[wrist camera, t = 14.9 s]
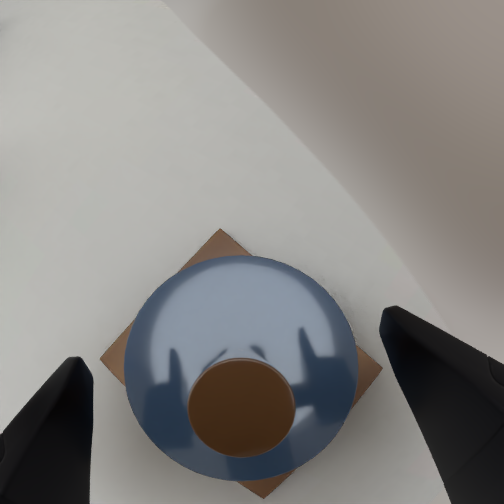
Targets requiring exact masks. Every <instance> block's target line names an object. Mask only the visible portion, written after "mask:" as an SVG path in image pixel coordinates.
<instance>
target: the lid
mask: <svg viewBox="0 0 504 504" xmlns="http://www.w3.org/2000/svg"><path fill="white" fill-rule="evenodd" d="M124 379H125V386H126V391H127V396H128V399H129V402H130V405H131V408H132V410H133V413H134V415H135V416H136V418H137V420H138V422H139V424H140V426H141V427H142V429H143V430H144V431H145V433H146V434H147V436H148V437H149V438H150V439H151V440H152V442H153V443H154V444H155V445H156V446H157V447H158V448H159V449H160V450H161V451H163V452H164V453H165V454H166V455H167V456H169V457H170V458H171V459H173V460H174V461H176V462H177V463H179V464H181V465H182V466H184V467H186V468H188V469H190V470H192V471H194V472H197V473H199V474H202V475H205V476H209V477H212V478H217V479H222V480H229V481H254V480H262V479H267V478H272V477H275V476H278V475H281V474H284V473H287V472H289V471H291V470H293V469H295V468H297V467H300V466H301V465H303V464H304V463H306V462H308V461H309V460H311V459H312V458H314V457H315V456H316V455H317V454H318V453H319V452H321V451H322V450H323V449H324V448H325V447H326V446H327V445H328V444H329V443H330V442H331V441H332V439H333V438H334V437H335V436H336V434H337V433H338V431H339V430H340V429H341V427H342V426H343V424H344V422H345V420H346V418H347V416H348V414H349V412H350V409H351V407H352V404H353V401H354V398H355V393H356V388H357V383H358V355H357V349H356V344H355V340H354V337H353V334H352V331H351V328H350V325H349V323H348V321H347V320H346V318H345V316H344V314H343V312H342V310H341V309H340V307H339V306H338V305H337V303H336V302H335V300H334V299H333V298H332V297H331V296H330V295H329V294H328V292H327V291H326V290H325V289H324V288H323V287H321V286H320V285H319V284H318V283H317V282H316V281H314V280H313V279H312V278H310V277H309V276H307V275H306V274H304V273H303V272H301V271H299V270H297V269H295V268H293V267H291V266H289V265H287V264H284V263H281V262H278V261H275V260H272V259H268V258H263V257H258V256H245V255H235V256H223V257H218V258H213V259H209V260H205V261H202V262H199V263H196V264H194V265H192V266H190V267H188V268H186V269H183V270H181V271H180V272H178V273H177V274H175V275H174V276H172V277H171V278H169V279H168V280H167V281H165V282H164V283H163V284H162V285H161V286H160V287H158V288H157V289H156V290H155V292H154V293H153V294H152V295H151V296H150V297H149V298H148V299H147V301H146V302H145V304H144V305H143V307H142V308H141V309H140V311H139V313H138V315H137V317H136V319H135V321H134V323H133V325H132V327H131V330H130V333H129V336H128V339H127V344H126V349H125V354H124Z"/></svg>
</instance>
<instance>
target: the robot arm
mask: <svg viewBox="0 0 504 504" xmlns="http://www.w3.org/2000/svg"><path fill="white" fill-rule="evenodd" d="M379 333H380V337H381V339H382V342H383V345H384V347H385V350H386V353H387V355H388V358H389V361H390V363H391V366H392V369H393V372H394V374H395V377H396V379H397V381H398V383H399V385H400V387H401V389H402V391H403V393H404V395H405V398H406V400H407V402H408V404H409V406H410V408H411V410H412V412H413V414H414V417H415V419H416V421H417V423H418V425H419V427H420V430H421V432H422V434H423V436H424V439H425V441H426V443H427V445H428V448H429V450H430V452H431V455H432V457H433V459H434V462H435V464H436V466H437V469H438V471H439V473H440V476H441V478H442V481H443V483H444V486H445V489H446V491H447V493H448V496H449V499H450V501H451V504H504V364H502V363H500V362H498V361H497V360H495V359H493V358H491V357H490V356H488V357H487V355H486V354H484V353H482V352H480V351H479V350H477V349H475V348H473V347H472V346H470V345H468V344H466V343H464V342H463V341H460V340H459V339H457V338H455V337H454V336H452V335H450V334H448V333H446V332H445V331H443V330H441V329H439V328H437V327H436V326H434V325H432V324H430V323H428V322H426V321H425V320H423V319H421V318H419V317H417V316H415V315H414V314H412V313H410V312H408V311H406V310H404V309H403V308H401V307H399V306H391V307H387V308H385V309H384V310H383V313H382V317H381V322H380V327H379ZM92 434H93V376H92V374H91V372H90V370H89V369H88V367H87V366H86V364H85V362H84V361H83V359H82V358H81V357H68V358H67V359H66V360H65V361H64V362H63V363H62V364H61V365H60V367H59V368H58V369H57V370H56V371H55V372H54V373H53V374H52V375H51V376H50V378H49V379H48V380H47V381H46V382H45V383H44V384H43V385H42V386H41V388H40V389H39V390H38V391H37V392H36V393H35V394H34V396H33V397H32V398H31V399H30V400H29V401H28V402H27V404H26V405H25V406H24V407H23V408H22V409H21V411H20V412H19V413H18V414H17V415H16V416H15V418H14V419H13V420H12V421H11V422H10V424H9V425H8V426H7V427H6V428H5V430H4V431H3V433H1V434H0V504H90V464H91V447H92Z"/></svg>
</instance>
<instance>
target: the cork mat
mask: <svg viewBox="0 0 504 504" xmlns="http://www.w3.org/2000/svg"><path fill="white" fill-rule="evenodd" d="M235 255H245V256H252V255H251V254H249V253H248V252H247V251H246V250H245V249H244V248H243V247H241V246H240V245H239V244H238V243H237V242H236V241H234V240H233V239H232V238H231V237H230V236H229V235H227V234H226V233H225V232H224V231H223V230H222V229H219V230H218V231H217V232H216V233H215V234H214V235H213V236H212V237H211V238H210V239H209V240H208V241H207V242H206V243H205V244H204V245H203V246H202V247H201V248H200V249H199V251H198V252H197V253H196V254H195V255H194V256H193V257H192V258H191V259H190V260H189V261H188V262H187V263H186V264H185V265H184V266H183V267H182V268H181V270H183V269H186V268H188V267H190V266H192V265H194V264H196V263H199V262H202V261H205V260H209V259H213V258H218V257H223V256H235ZM181 270H180V271H181ZM180 271H179V272H180ZM135 319H136V318H135ZM135 319H134V321H135ZM134 321H133V322H132V323H131V324H130V325H129V326H128V327H127V328H126V329H125V331H124V332H123V333H122V334H121V335H120V336H119V337H118V338H117V340H116V341H115V342H114V343H113V344H112V345H111V346H110V347H109V349H108V350H107V351H106V352H105V353H104V354H103V355H102V357H101V358H100V360H101V361H102V362H103V363H104V364H105V366H106V367H107V368H108V369H109V370H110V371H111V372H112V373H113V374H114V375H115V376H116V377H117V378H118V380H119V381H120V382H121V383H122V384H123V385H124V386H125V379H124V354H125V349H126V344H127V339H128V336H129V333H130V330H131V327H132V325H133V323H134ZM356 349H357V355H358V383H357V388H356V393H355V398H354V401H353V404H352V407H353V406H354V405H355V404H356V402H357V401H358V400H359V399H360V397H361V396H362V395H363V394H364V392H365V391H366V390H367V389H368V387H369V386H370V385H371V383H372V382H373V381H374V380H375V378H376V377H377V376H378V374H379V373H380V371H381V370H382V369H383V368H382V367H381V366H380V365H379V364H378V363H376V362H375V361H374V360H373V359H372V358H371V357H369V356H368V355H367V354H366V353H365V352H364V351H362V350H361V349H360V348H359V347H358V346H357V345H356ZM125 387H126V386H125ZM352 407H351V409H352ZM351 409H350V410H351ZM295 469H296V468H295ZM295 469H293V470H291V471H289V472H287V473H284V474H281V475H278V476H275V477H272V478H267V479H262V480H254V481H237V482H239V483H240V484H242V485H243V486H244V487H246V488H247V489H249V490H250V491H252V492H253V493H255V494H257V495H258V496H260V497H261V498H263V499H264V498H265V497H266V496H268V495H269V494H270V493H271V492H272V491H273V490H274V489H275V488H276V487H278V486H279V485H280V484H281V483H282V482H283V481H284V480H285V479H286V478H287V477H288V476H289V475H290V474H291V473H292V472H293V471H294V470H295Z"/></svg>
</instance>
